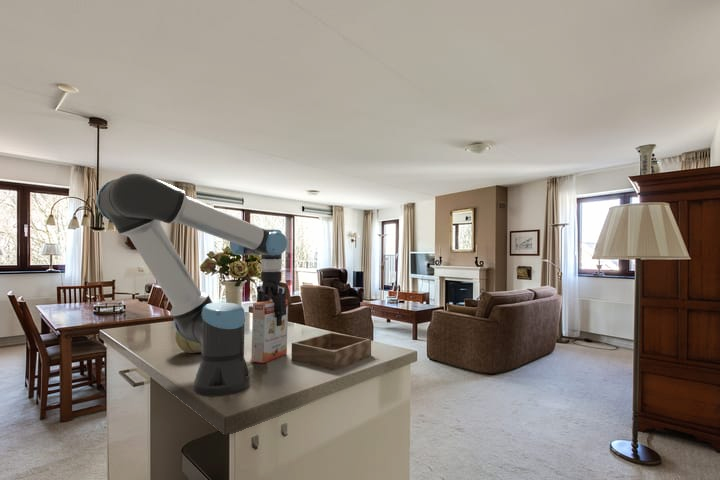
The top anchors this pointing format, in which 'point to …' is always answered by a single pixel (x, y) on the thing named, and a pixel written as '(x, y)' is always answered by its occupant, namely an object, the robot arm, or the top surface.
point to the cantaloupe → (187, 344)
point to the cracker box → (267, 333)
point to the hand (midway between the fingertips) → (270, 333)
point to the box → (331, 350)
